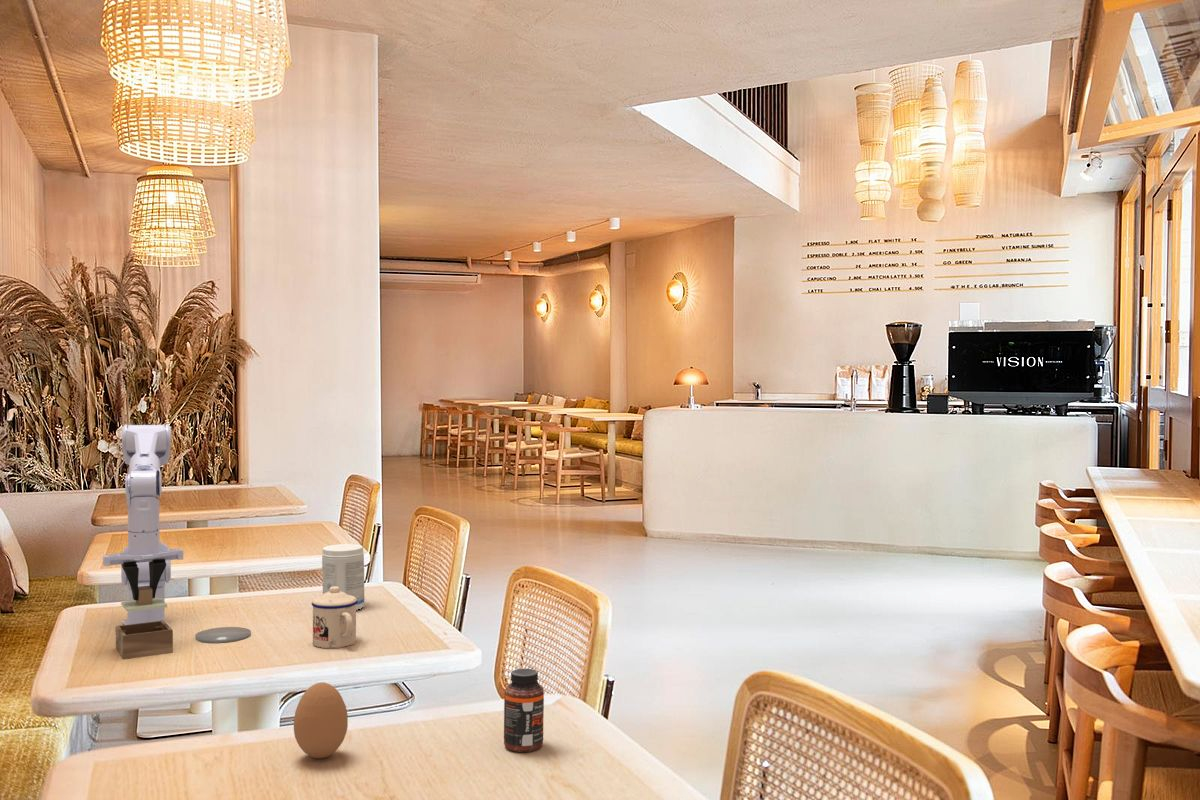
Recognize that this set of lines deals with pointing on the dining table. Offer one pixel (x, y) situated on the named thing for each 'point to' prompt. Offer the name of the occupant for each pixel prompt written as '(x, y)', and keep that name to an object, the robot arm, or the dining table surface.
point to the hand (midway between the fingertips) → (143, 598)
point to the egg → (320, 720)
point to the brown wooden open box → (144, 639)
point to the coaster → (223, 635)
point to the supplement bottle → (523, 712)
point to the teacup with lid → (334, 619)
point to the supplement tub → (344, 570)
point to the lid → (144, 601)
